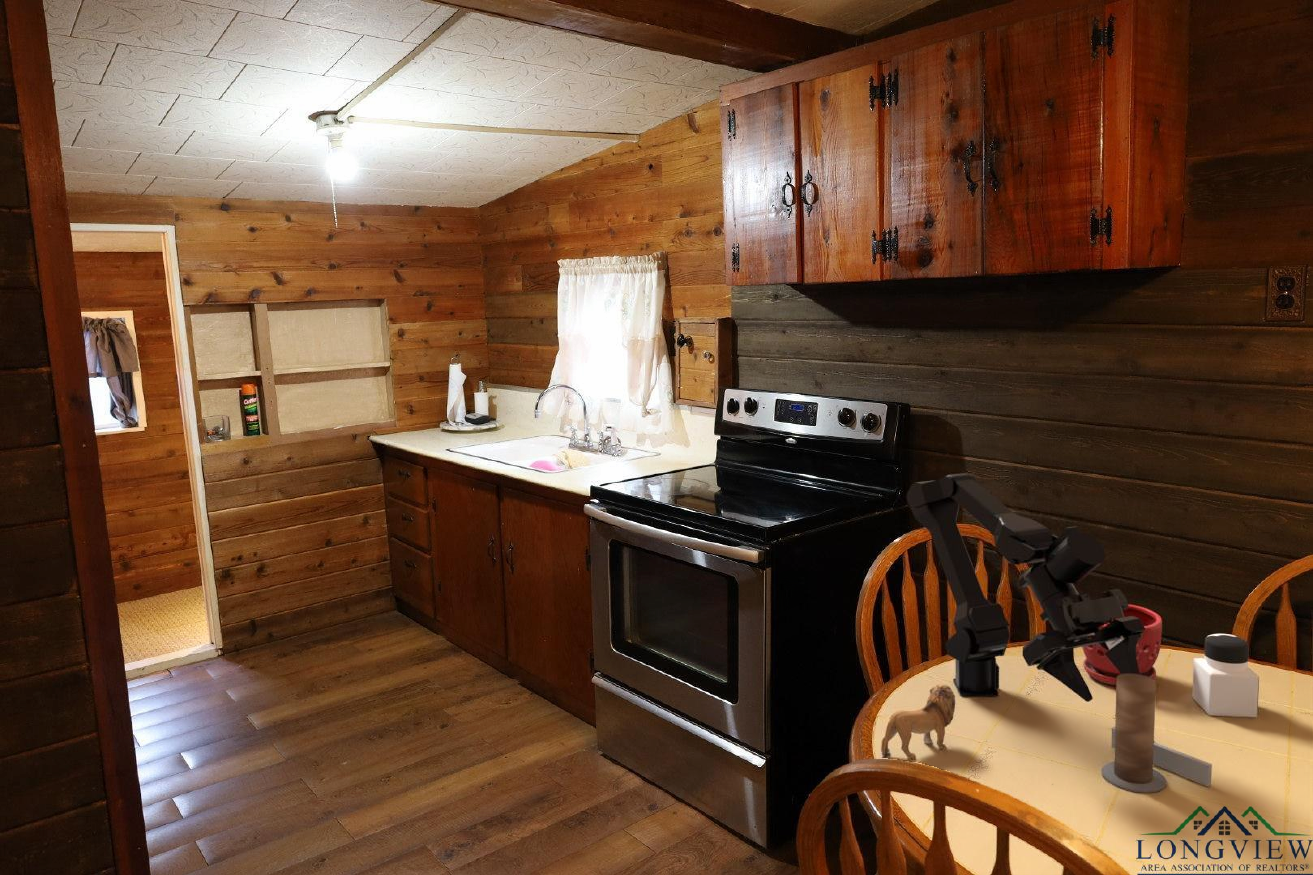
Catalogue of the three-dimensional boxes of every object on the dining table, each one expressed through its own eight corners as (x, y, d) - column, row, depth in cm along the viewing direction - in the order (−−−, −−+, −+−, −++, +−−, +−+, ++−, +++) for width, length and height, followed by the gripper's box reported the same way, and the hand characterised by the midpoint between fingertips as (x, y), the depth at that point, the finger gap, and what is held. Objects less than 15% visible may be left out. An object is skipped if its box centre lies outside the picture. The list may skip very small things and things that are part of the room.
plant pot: (1068, 663, 166) (1069, 601, 164) (1142, 664, 164) (1144, 601, 162) (1092, 692, 153) (1093, 625, 151) (1173, 693, 151) (1175, 626, 150)
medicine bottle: (1258, 718, 141) (1261, 646, 139) (1208, 716, 142) (1211, 644, 141) (1238, 699, 148) (1241, 630, 146) (1191, 697, 149) (1194, 629, 148)
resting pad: (1114, 791, 121) (1114, 789, 121) (1093, 763, 129) (1093, 760, 129) (1176, 793, 120) (1176, 791, 120) (1151, 764, 128) (1151, 762, 128)
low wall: (1111, 746, 134) (1112, 728, 133) (1114, 745, 134) (1115, 726, 134) (1207, 786, 122) (1208, 765, 121) (1211, 784, 122) (1211, 764, 122)
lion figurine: (937, 730, 141) (937, 676, 140) (964, 742, 137) (964, 687, 136) (870, 756, 134) (869, 699, 133) (896, 770, 129) (896, 712, 128)
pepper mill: (1113, 779, 124) (1115, 683, 122) (1114, 763, 128) (1117, 671, 126) (1152, 786, 121) (1155, 689, 120) (1152, 771, 125) (1155, 676, 124)
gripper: (1038, 580, 126) (1097, 683, 117) (1137, 563, 132) (1201, 660, 123) (998, 616, 135) (1051, 714, 126) (1094, 599, 141) (1151, 692, 132)
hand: (1115, 694), depth 127 cm, fingers open, 9 cm apart
